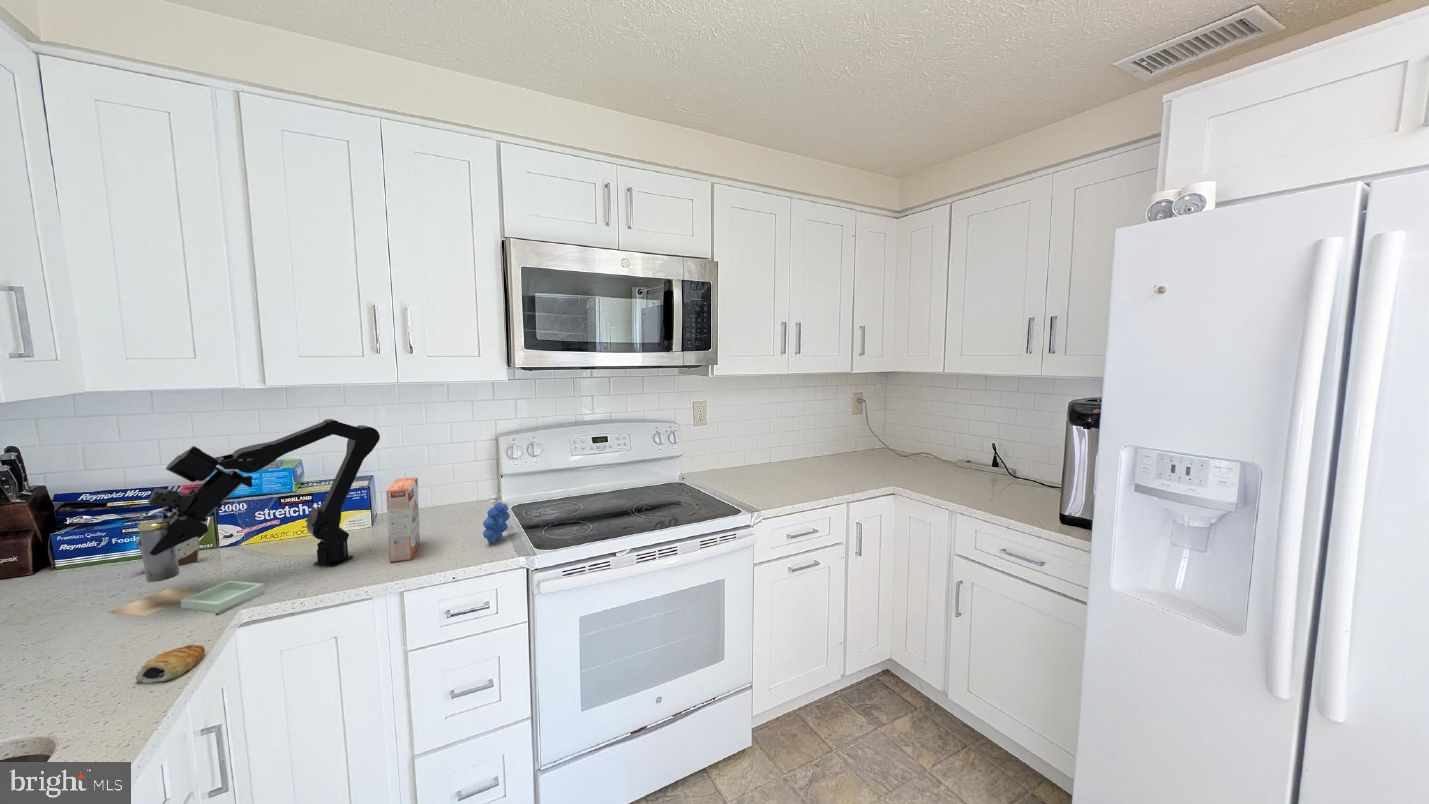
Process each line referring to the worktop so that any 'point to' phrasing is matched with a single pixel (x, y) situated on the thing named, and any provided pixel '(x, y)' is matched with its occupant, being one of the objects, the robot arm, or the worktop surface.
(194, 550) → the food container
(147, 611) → the cork mat
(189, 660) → the pastry
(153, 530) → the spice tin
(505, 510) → the grapes
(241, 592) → the dish
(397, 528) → the cracker box
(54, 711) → the worktop surface
